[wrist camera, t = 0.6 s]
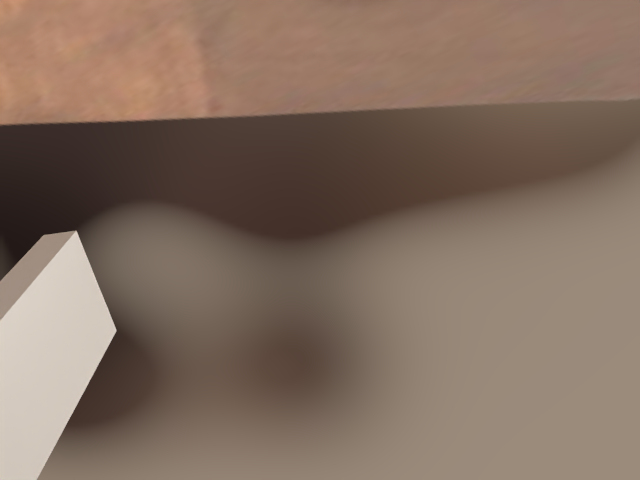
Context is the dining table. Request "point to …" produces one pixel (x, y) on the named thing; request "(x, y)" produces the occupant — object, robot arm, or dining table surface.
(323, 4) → the dining table surface
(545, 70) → the dining table surface
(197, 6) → the dining table surface
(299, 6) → the dining table surface
